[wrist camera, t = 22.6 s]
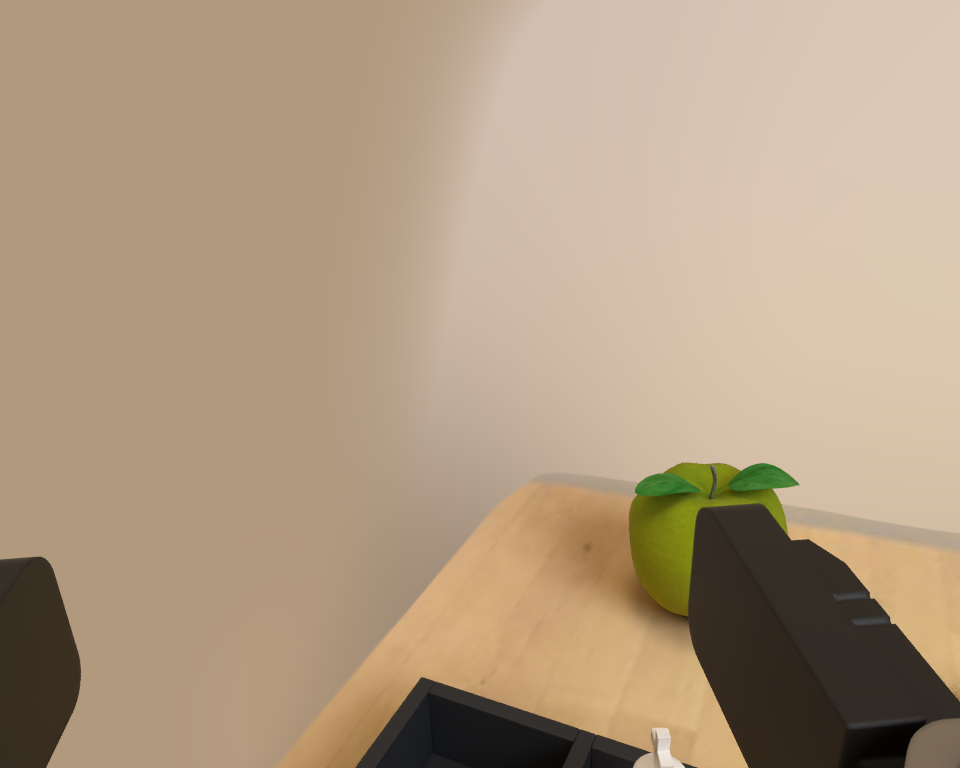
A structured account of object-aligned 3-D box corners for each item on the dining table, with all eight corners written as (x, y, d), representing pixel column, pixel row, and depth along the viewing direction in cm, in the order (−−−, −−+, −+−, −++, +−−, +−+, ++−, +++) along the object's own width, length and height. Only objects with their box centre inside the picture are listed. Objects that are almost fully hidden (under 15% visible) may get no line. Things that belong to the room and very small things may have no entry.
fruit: (796, 659, 46) (819, 509, 42) (630, 651, 47) (637, 504, 43) (764, 562, 55) (780, 429, 51) (623, 557, 56) (628, 427, 52)
